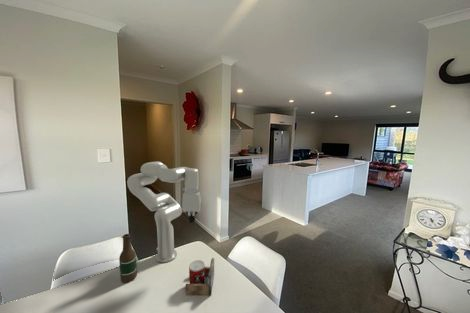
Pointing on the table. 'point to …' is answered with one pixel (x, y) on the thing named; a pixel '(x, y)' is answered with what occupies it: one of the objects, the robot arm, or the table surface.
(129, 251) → the beer bottle
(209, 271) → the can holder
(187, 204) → the robot arm
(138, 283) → the table surface
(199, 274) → the canned food
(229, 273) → the table surface
